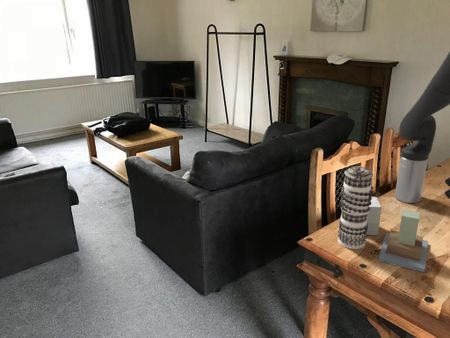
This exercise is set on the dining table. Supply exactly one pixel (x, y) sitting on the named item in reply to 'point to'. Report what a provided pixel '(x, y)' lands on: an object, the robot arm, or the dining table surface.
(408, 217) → the sage block
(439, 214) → the dining table surface
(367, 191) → the decorative candle
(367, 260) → the dining table surface
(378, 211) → the small box
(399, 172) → the robot arm
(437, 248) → the dining table surface
